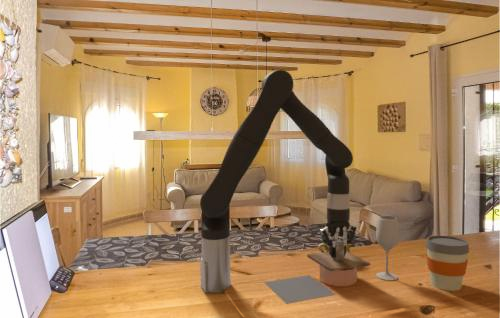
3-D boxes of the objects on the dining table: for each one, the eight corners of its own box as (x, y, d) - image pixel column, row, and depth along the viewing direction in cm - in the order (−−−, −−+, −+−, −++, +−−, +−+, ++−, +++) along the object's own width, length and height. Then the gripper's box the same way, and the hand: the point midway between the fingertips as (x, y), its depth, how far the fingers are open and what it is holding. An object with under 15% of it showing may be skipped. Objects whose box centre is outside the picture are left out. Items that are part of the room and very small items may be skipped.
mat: (286, 306, 111) (286, 303, 111) (264, 284, 127) (264, 282, 127) (336, 296, 117) (336, 294, 117) (309, 277, 133) (309, 275, 133)
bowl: (332, 290, 122) (332, 272, 121) (313, 277, 133) (313, 260, 133) (364, 285, 126) (364, 267, 125) (342, 272, 137) (342, 256, 137)
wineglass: (373, 278, 131) (374, 218, 130) (377, 271, 138) (378, 214, 136) (396, 282, 128) (398, 220, 126) (399, 274, 134) (400, 216, 133)
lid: (330, 271, 119) (330, 250, 119) (307, 256, 133) (307, 237, 133) (370, 265, 124) (370, 245, 124) (343, 251, 138) (343, 233, 138)
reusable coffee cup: (473, 285, 125) (475, 240, 124) (458, 296, 116) (460, 248, 115) (434, 274, 134) (435, 233, 133) (418, 284, 126) (419, 240, 125)
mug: (350, 251, 155) (346, 230, 152) (354, 267, 146) (350, 245, 142) (320, 255, 157) (316, 235, 154) (322, 271, 148) (318, 250, 144)
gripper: (326, 210, 122) (325, 262, 123) (362, 206, 126) (361, 257, 128) (314, 205, 129) (313, 255, 130) (349, 202, 133) (348, 250, 135)
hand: (337, 256), depth 129 cm, fingers closed on lid, 3 cm apart
